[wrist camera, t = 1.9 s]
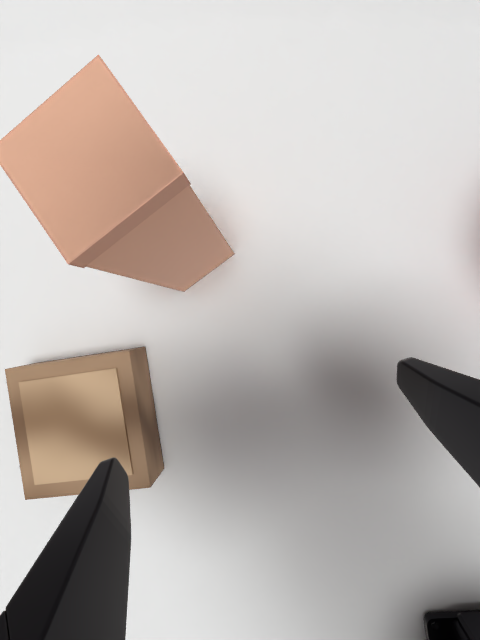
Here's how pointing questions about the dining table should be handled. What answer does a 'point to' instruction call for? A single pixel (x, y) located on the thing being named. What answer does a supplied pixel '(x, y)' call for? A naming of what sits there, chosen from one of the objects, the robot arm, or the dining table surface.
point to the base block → (84, 421)
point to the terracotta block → (110, 186)
